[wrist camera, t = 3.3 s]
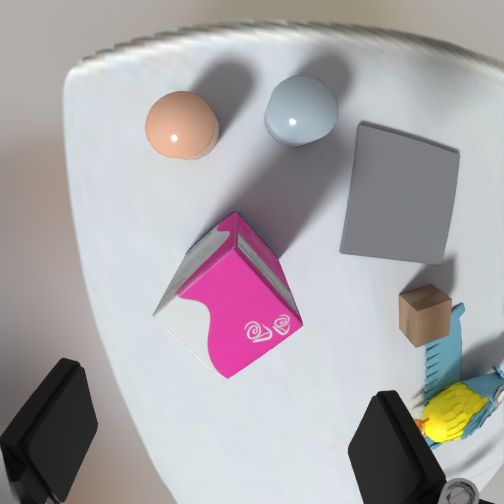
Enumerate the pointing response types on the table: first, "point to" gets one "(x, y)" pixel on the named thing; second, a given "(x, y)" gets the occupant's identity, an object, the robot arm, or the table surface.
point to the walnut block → (424, 315)
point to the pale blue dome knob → (300, 111)
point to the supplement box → (229, 299)
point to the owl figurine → (455, 391)
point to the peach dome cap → (182, 126)
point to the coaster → (399, 198)
